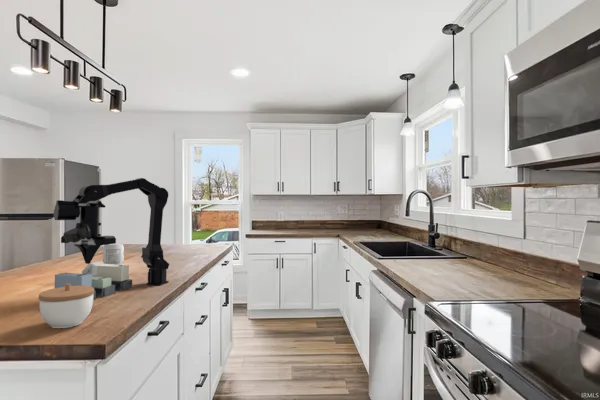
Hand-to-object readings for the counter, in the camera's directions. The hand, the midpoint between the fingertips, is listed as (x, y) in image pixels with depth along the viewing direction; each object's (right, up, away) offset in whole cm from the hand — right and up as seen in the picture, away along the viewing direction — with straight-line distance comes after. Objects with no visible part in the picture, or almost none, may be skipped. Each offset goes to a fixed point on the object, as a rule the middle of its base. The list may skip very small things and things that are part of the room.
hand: (87, 263), depth 123 cm
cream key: (+3, -8, +11) cm, 14 cm away
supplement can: (-7, -12, +30) cm, 33 cm away
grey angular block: (-10, -12, +22) cm, 27 cm away
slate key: (-1, -8, -6) cm, 10 cm away
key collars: (+1, -12, +3) cm, 12 cm away
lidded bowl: (+12, -12, -29) cm, 33 cm away
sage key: (+1, -11, +3) cm, 12 cm away
